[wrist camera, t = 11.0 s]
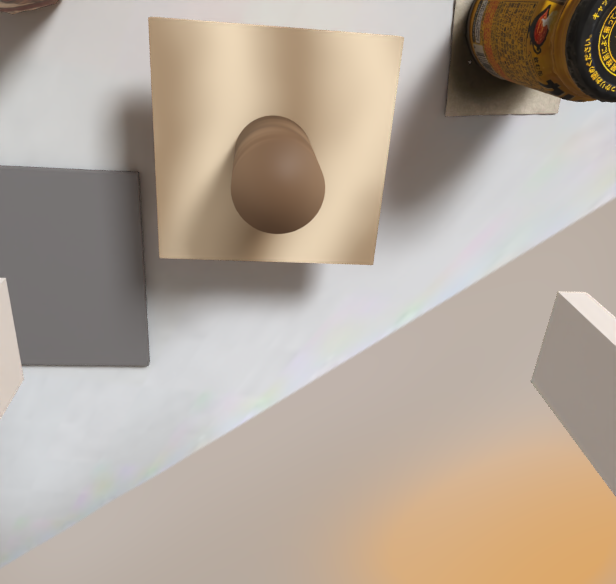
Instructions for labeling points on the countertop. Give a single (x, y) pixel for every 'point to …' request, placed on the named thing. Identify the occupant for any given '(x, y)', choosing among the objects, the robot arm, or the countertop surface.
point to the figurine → (23, 5)
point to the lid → (270, 140)
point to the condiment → (530, 55)
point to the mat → (74, 265)
